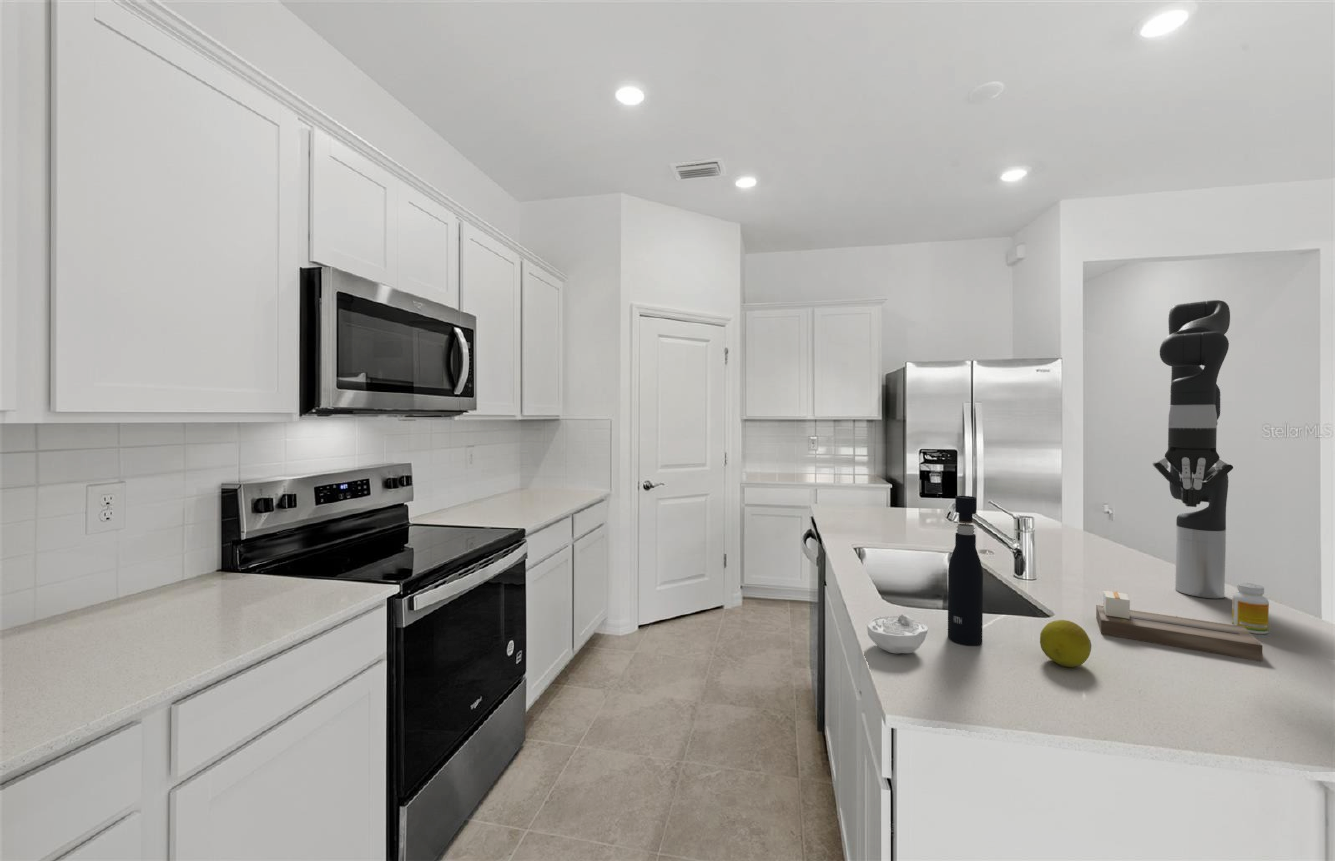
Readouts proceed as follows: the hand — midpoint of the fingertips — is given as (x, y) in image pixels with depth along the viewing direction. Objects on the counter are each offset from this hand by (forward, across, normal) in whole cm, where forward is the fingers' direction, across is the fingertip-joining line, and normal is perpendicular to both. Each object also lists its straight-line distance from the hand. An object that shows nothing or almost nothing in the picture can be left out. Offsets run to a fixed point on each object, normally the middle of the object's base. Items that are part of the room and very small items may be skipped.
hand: (1190, 506), depth 118 cm
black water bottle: (+27, +40, +32) cm, 58 cm away
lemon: (+27, +23, +34) cm, 49 cm away
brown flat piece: (+27, +4, +8) cm, 28 cm away
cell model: (+27, +51, +45) cm, 73 cm away
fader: (+24, +13, +8) cm, 28 cm away
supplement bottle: (+27, -11, -7) cm, 30 cm away
